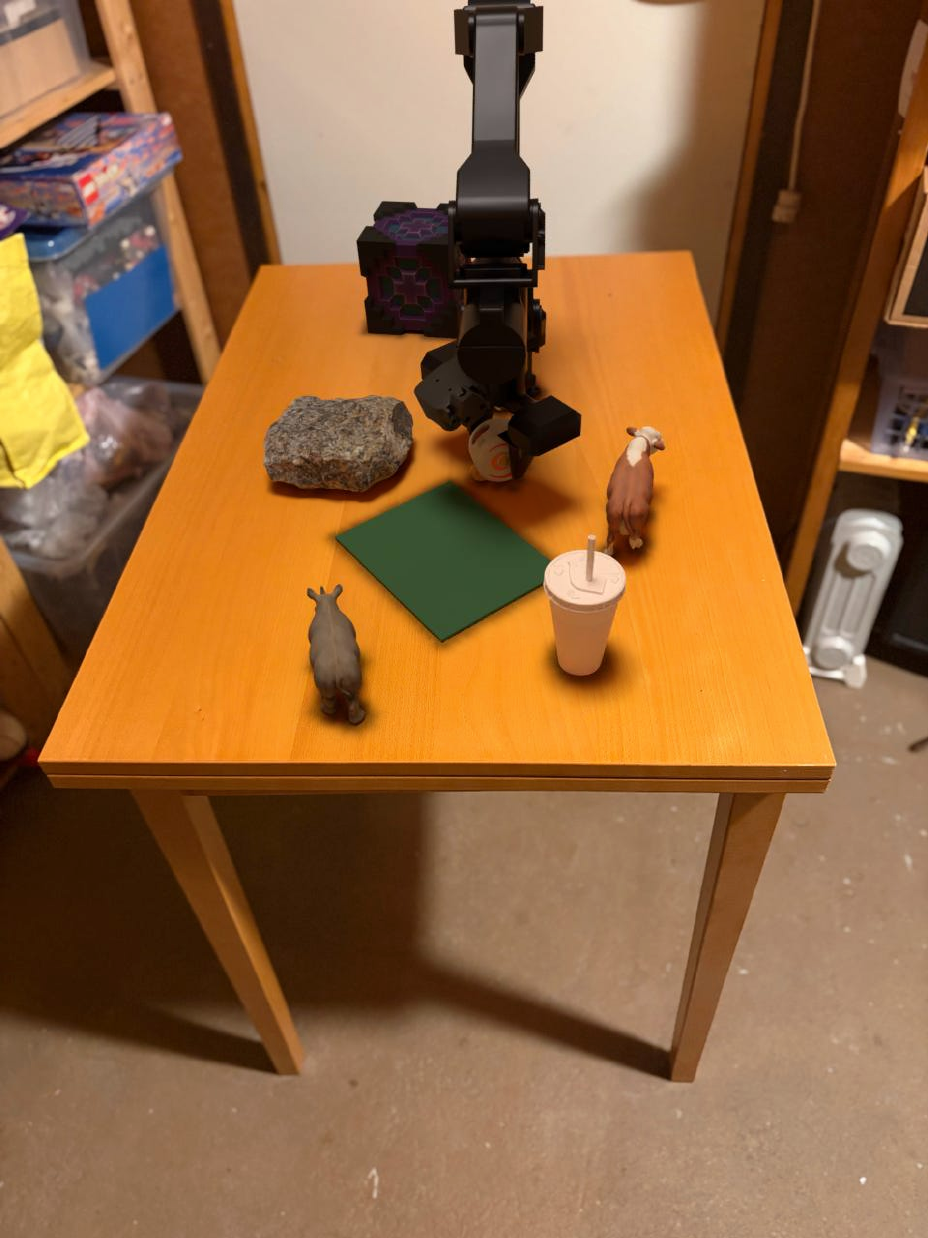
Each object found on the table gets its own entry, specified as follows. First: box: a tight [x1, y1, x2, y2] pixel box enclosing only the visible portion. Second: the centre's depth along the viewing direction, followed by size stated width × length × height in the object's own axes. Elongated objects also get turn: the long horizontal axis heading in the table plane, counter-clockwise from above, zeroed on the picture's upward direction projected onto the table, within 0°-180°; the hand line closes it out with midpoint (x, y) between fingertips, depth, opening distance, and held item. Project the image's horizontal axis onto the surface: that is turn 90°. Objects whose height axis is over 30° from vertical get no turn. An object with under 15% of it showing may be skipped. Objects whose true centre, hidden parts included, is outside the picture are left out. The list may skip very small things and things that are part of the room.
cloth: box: [334, 480, 552, 643], centre depth 89 cm, size 14×18×1 cm
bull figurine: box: [603, 425, 666, 557], centre depth 88 cm, size 4×13×8 cm, turn 161°
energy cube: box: [355, 200, 473, 339], centre depth 119 cm, size 12×12×12 cm
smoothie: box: [542, 534, 627, 677], centre depth 74 cm, size 6×6×14 cm
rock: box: [262, 394, 414, 493], centre depth 98 cm, size 13×6×15 cm
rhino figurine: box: [306, 583, 366, 724], centre depth 77 cm, size 4×14×6 cm, turn 12°
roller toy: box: [468, 417, 513, 483], centre depth 95 cm, size 4×6×6 cm
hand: (499, 464), depth 97 cm, fingers open, 6 cm apart
